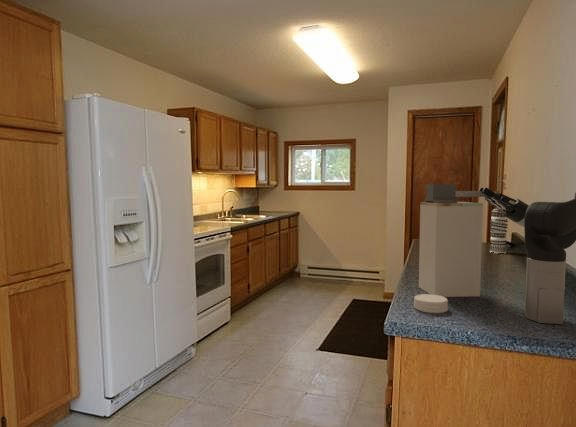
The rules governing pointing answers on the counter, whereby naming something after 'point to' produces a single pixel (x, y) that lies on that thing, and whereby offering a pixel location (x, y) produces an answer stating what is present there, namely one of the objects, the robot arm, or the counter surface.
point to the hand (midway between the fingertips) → (481, 189)
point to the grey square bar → (449, 192)
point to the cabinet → (450, 248)
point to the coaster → (430, 303)
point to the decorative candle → (498, 231)
